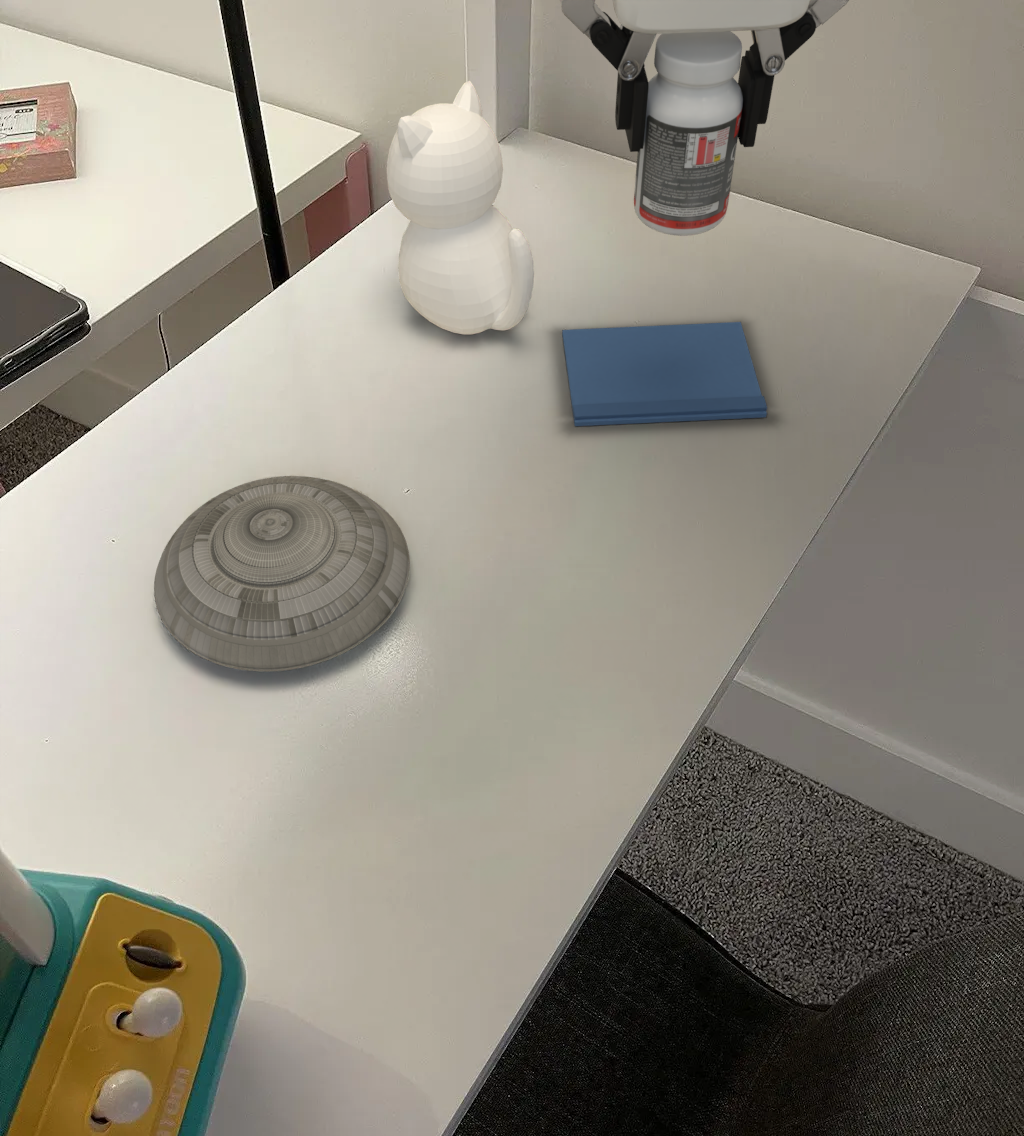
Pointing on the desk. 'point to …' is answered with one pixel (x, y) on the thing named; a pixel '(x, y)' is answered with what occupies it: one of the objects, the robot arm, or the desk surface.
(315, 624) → the flying saucer
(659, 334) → the cloth
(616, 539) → the desk surface
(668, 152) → the pill bottle
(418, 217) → the cat figurine
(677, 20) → the robot arm
